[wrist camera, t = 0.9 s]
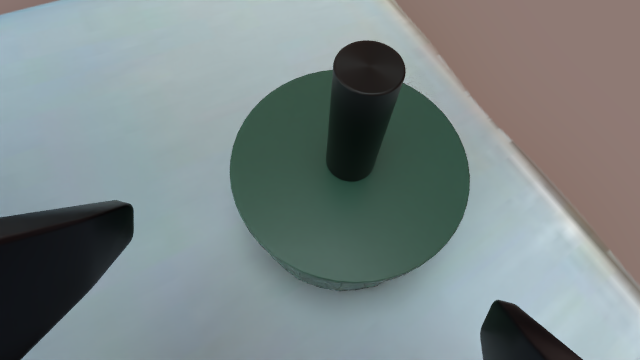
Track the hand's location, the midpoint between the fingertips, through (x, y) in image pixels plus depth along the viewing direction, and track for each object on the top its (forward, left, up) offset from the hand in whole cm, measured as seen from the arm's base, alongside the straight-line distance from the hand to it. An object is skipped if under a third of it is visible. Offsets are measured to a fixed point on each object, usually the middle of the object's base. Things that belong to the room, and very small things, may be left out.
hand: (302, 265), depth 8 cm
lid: (+7, -3, -8) cm, 11 cm away
